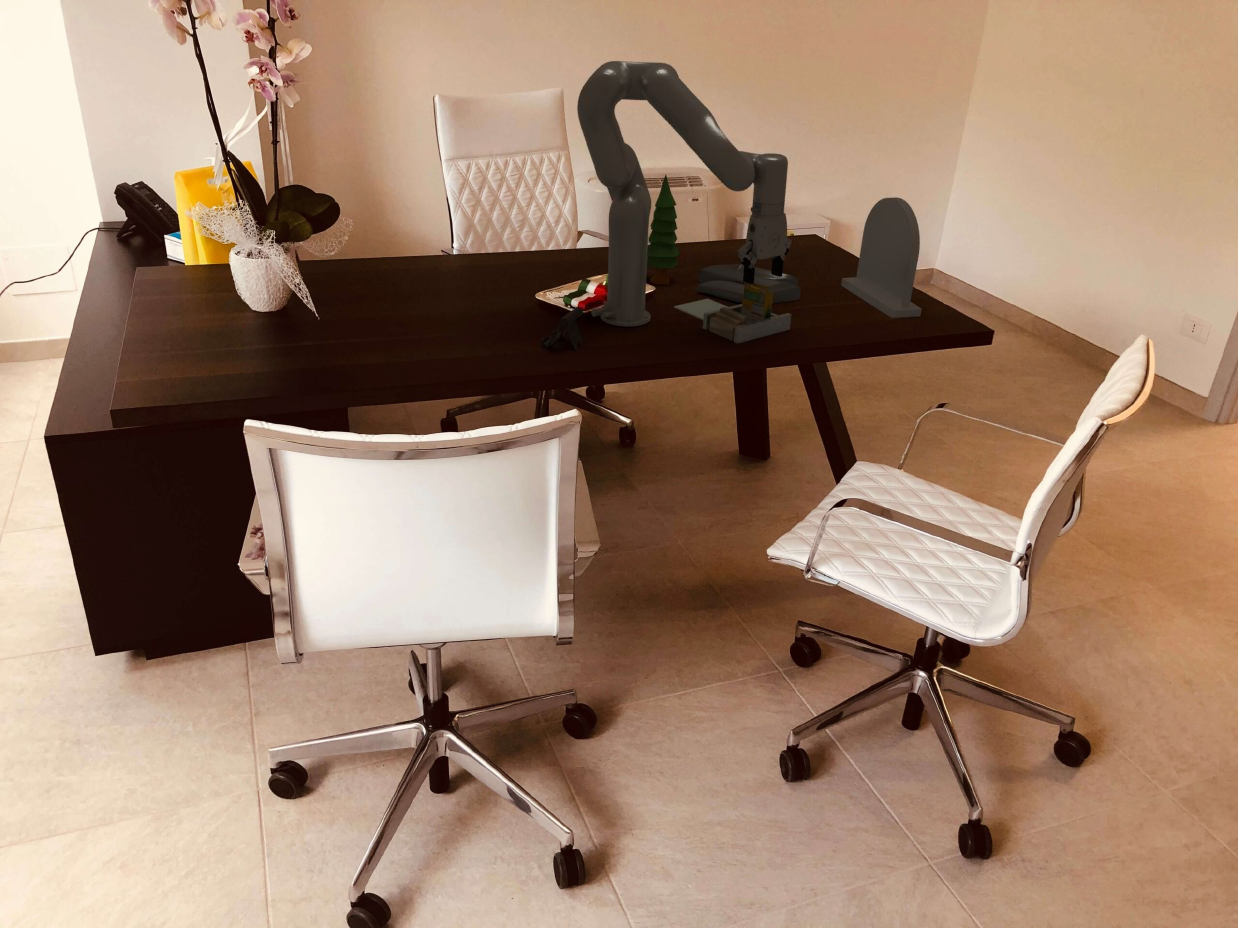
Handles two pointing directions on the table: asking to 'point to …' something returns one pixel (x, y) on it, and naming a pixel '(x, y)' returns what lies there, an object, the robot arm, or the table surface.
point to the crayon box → (756, 302)
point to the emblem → (731, 285)
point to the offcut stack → (726, 322)
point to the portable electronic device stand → (568, 325)
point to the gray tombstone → (888, 259)
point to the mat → (699, 307)
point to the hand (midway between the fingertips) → (762, 279)
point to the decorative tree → (663, 236)
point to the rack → (754, 325)
